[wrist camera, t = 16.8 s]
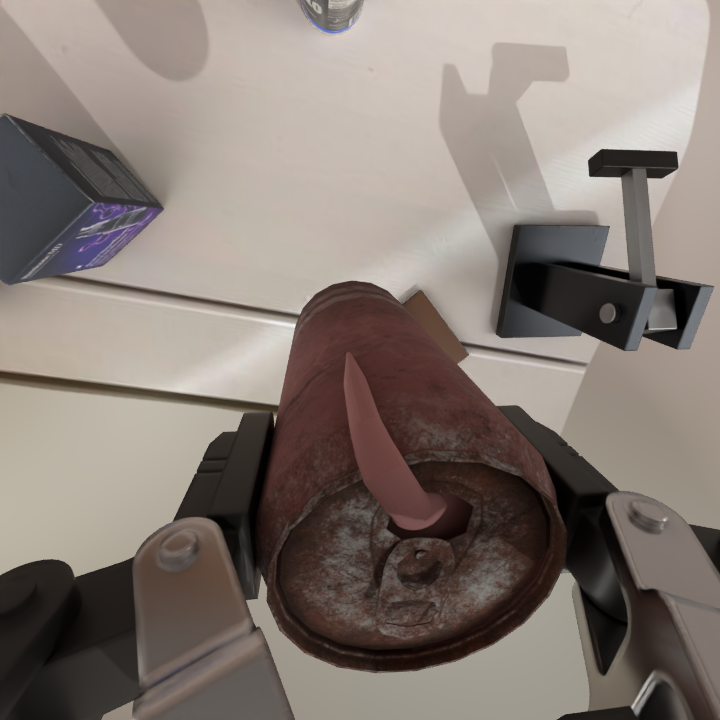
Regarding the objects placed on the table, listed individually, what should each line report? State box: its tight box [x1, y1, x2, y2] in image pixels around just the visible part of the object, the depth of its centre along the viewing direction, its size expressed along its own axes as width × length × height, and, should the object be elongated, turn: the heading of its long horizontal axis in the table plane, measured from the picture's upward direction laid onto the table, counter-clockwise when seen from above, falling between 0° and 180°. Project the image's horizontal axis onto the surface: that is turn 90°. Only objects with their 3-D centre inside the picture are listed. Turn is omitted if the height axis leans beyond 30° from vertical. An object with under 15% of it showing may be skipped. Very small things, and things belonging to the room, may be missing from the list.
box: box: [0, 114, 164, 285], centre depth 25 cm, size 8×6×11 cm
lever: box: [588, 149, 678, 334], centre depth 25 cm, size 13×6×2 cm, turn 179°
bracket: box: [496, 225, 714, 351], centre depth 30 cm, size 11×9×14 cm
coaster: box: [402, 290, 469, 364], centre depth 37 cm, size 9×9×1 cm
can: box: [255, 281, 567, 673], centre depth 13 cm, size 6×6×14 cm
